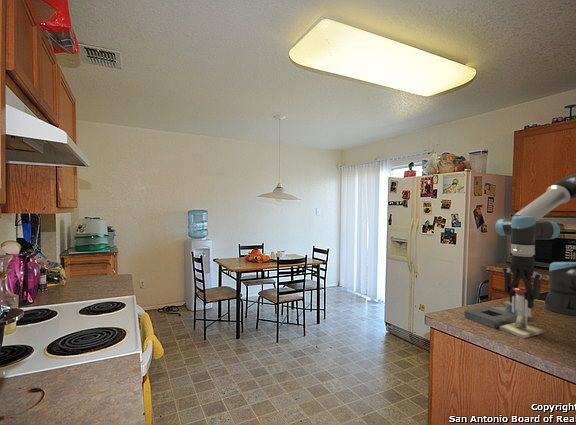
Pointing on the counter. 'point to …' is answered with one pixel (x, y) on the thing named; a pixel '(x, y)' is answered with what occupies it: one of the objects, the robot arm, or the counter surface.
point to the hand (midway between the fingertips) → (521, 313)
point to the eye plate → (490, 316)
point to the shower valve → (508, 308)
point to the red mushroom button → (520, 306)
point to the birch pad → (521, 330)
